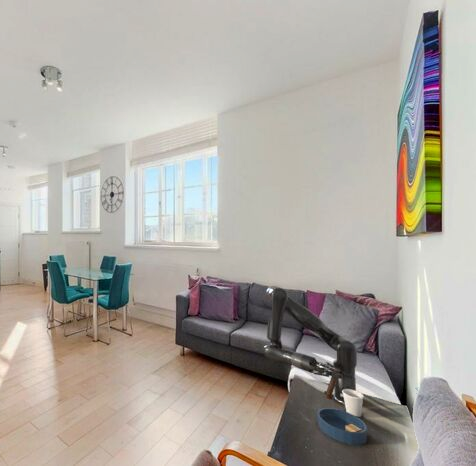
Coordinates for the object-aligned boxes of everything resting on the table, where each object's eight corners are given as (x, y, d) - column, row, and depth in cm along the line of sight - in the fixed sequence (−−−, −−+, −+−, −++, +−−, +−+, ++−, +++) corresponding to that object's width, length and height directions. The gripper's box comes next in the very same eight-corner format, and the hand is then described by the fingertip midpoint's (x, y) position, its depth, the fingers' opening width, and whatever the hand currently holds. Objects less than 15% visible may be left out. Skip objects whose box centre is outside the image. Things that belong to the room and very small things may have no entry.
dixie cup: (339, 411, 139) (338, 391, 139) (347, 406, 143) (347, 387, 143) (360, 421, 132) (359, 399, 132) (368, 415, 136) (367, 394, 136)
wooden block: (352, 432, 123) (351, 423, 123) (362, 438, 120) (361, 429, 120) (345, 435, 122) (345, 425, 122) (355, 441, 118) (355, 431, 118)
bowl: (329, 415, 137) (328, 403, 137) (374, 436, 122) (373, 423, 122) (310, 427, 128) (310, 415, 128) (356, 452, 113) (355, 438, 113)
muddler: (325, 392, 134) (334, 366, 130) (333, 397, 131) (343, 370, 127) (322, 395, 132) (331, 368, 128) (330, 400, 129) (340, 373, 125)
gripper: (295, 357, 137) (336, 371, 122) (310, 351, 144) (350, 364, 129) (296, 373, 137) (337, 388, 122) (311, 366, 144) (351, 380, 129)
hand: (343, 376), depth 126 cm, fingers closed on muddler, 2 cm apart
